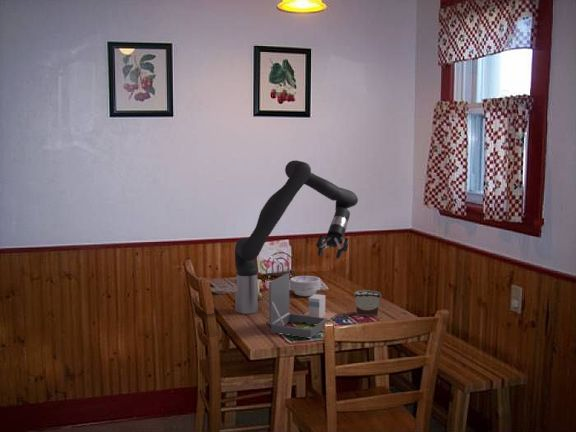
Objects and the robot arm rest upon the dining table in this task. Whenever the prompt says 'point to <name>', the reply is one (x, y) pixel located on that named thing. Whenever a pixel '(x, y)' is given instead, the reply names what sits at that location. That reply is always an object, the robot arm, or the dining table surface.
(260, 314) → the dining table surface
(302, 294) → the paper bowls
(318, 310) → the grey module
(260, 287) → the cat figure
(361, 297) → the food container
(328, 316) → the terracotta mat
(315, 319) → the equipment case
